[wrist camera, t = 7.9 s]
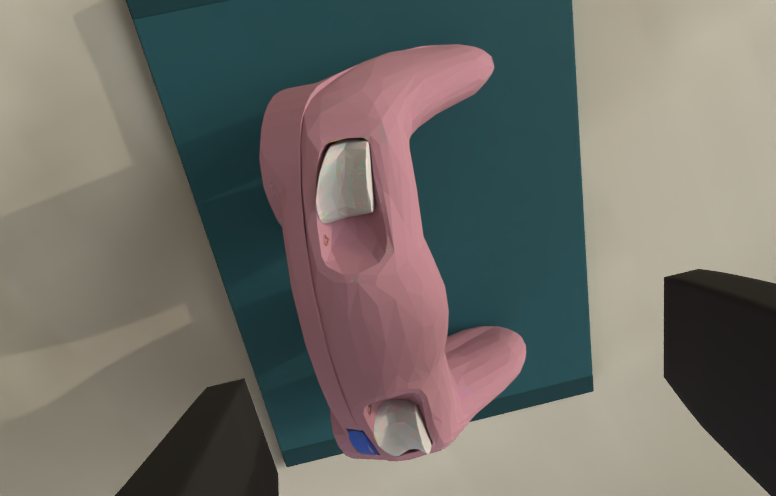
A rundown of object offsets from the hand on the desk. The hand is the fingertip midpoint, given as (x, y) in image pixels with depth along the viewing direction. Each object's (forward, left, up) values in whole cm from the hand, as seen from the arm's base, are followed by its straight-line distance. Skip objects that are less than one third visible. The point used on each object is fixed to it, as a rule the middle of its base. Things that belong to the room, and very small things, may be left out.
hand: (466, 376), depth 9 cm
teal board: (0, 0, -8) cm, 8 cm away
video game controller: (0, 0, -7) cm, 7 cm away
